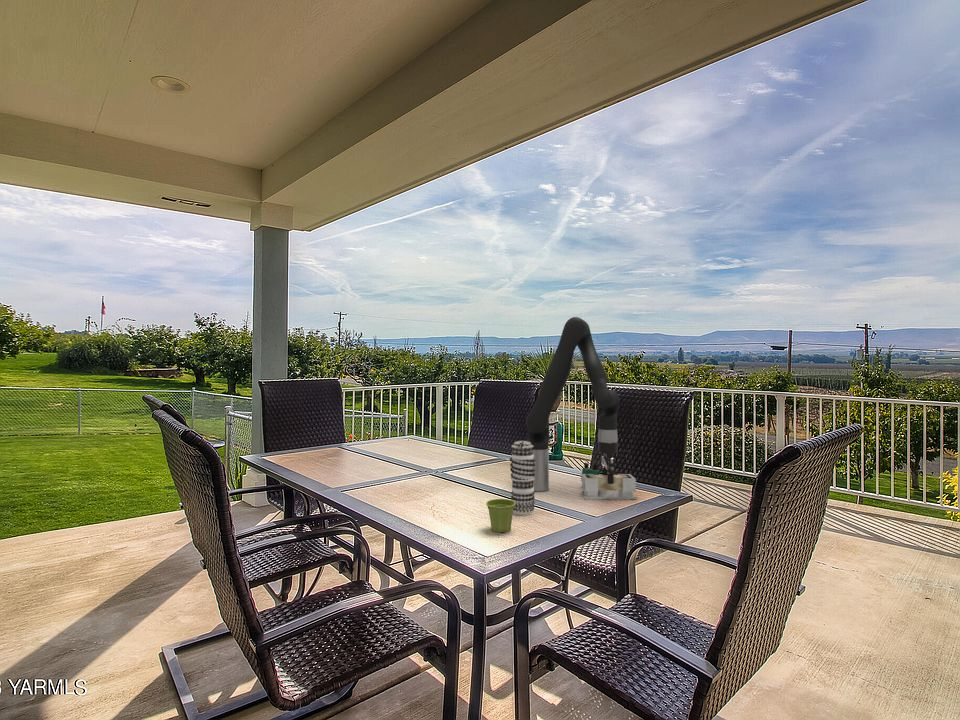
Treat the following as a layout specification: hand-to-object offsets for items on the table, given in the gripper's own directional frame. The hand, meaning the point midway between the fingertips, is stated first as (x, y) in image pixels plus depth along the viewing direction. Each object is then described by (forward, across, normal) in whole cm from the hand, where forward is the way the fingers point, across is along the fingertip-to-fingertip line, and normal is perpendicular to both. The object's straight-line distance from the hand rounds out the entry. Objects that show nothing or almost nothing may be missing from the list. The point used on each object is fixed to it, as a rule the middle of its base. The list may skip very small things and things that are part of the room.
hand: (608, 481), depth 197 cm
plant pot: (+6, +40, -43) cm, 59 cm away
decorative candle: (+6, +20, -35) cm, 41 cm away
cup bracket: (+6, 0, 0) cm, 6 cm away
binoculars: (+6, -14, -3) cm, 16 cm away
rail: (+3, 0, 0) cm, 3 cm away
